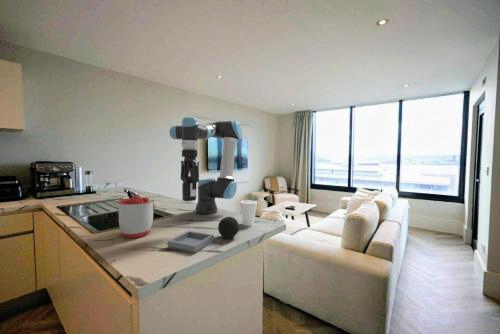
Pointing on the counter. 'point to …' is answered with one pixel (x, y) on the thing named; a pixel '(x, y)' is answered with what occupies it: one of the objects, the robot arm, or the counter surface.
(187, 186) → the supplement bottle
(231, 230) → the speaker
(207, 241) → the tray
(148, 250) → the counter surface
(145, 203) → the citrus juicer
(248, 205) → the foam cup
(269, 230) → the counter surface
